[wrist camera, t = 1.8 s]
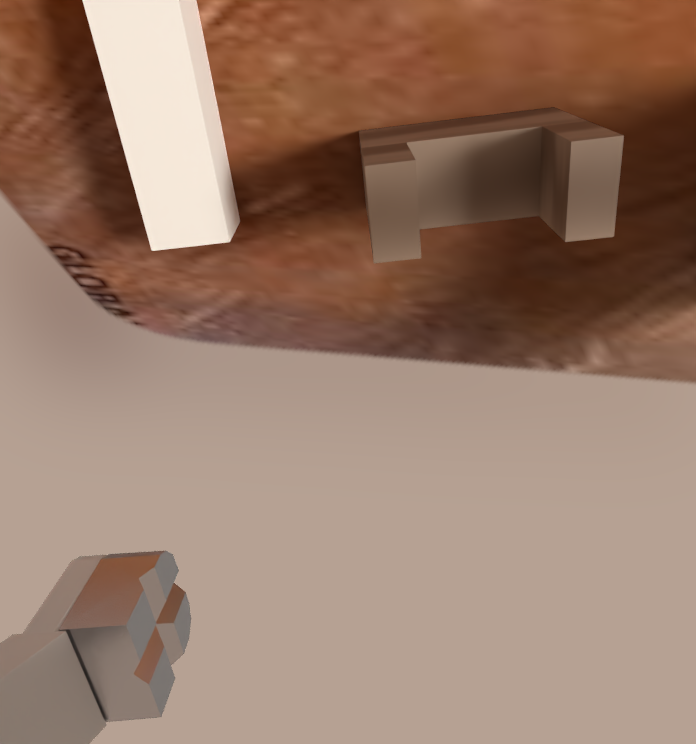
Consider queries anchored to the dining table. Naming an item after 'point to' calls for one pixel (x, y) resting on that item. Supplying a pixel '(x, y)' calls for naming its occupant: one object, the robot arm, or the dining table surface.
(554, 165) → the posts
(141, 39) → the rail
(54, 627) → the robot arm
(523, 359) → the dining table surface
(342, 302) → the dining table surface
